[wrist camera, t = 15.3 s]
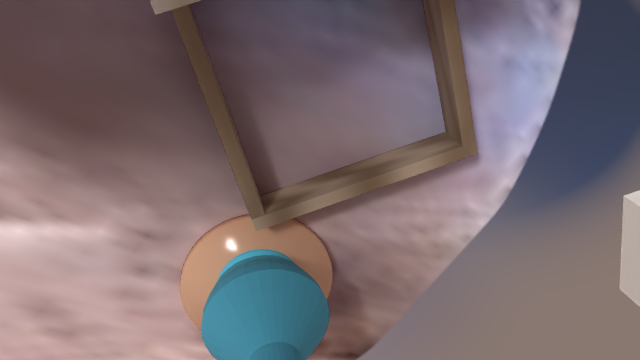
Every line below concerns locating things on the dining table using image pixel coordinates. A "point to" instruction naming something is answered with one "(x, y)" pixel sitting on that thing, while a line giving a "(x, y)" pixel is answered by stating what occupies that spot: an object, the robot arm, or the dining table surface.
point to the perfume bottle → (264, 310)
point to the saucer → (241, 238)
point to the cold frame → (359, 175)
